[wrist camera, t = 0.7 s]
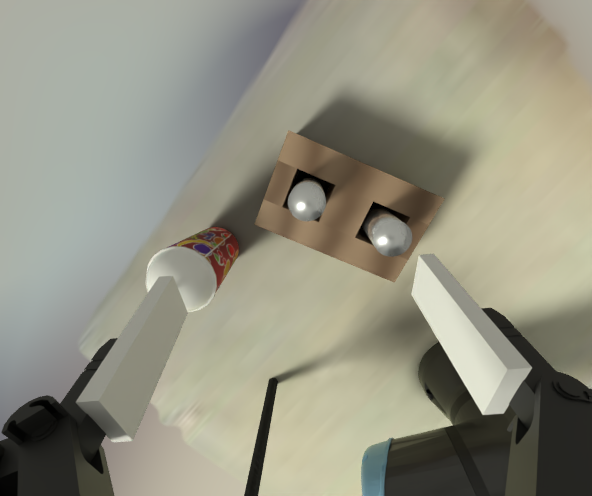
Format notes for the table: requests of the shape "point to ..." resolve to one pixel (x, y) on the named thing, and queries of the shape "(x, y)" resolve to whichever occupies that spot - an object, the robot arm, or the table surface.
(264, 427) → the solar garden light
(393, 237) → the peg
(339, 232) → the block
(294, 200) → the peg
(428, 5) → the table surface
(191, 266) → the smoothie
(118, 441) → the robot arm
